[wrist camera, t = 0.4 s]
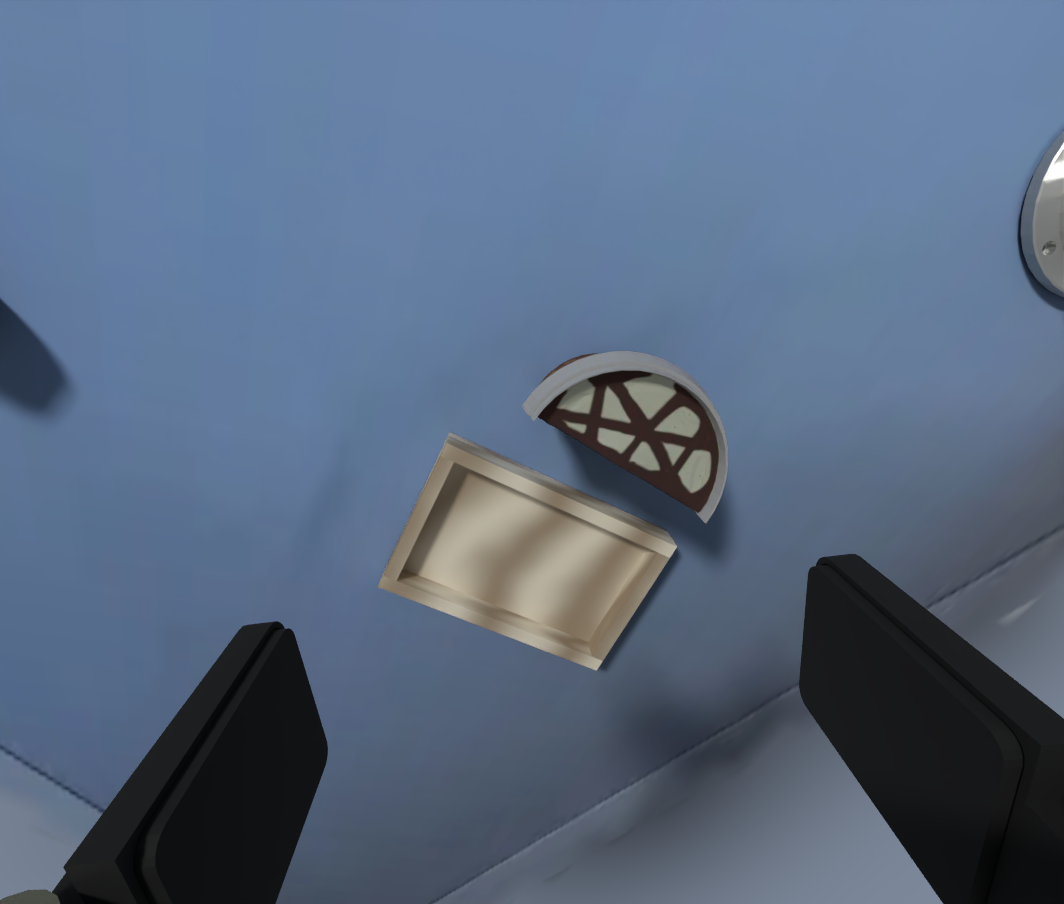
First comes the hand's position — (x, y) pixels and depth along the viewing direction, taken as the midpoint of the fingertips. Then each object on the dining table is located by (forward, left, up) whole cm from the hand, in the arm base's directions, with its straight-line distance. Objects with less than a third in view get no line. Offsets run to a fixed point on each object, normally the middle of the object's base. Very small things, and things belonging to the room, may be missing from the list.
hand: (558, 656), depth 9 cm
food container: (-6, -2, -28) cm, 29 cm away
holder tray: (-6, +12, -28) cm, 31 cm away
